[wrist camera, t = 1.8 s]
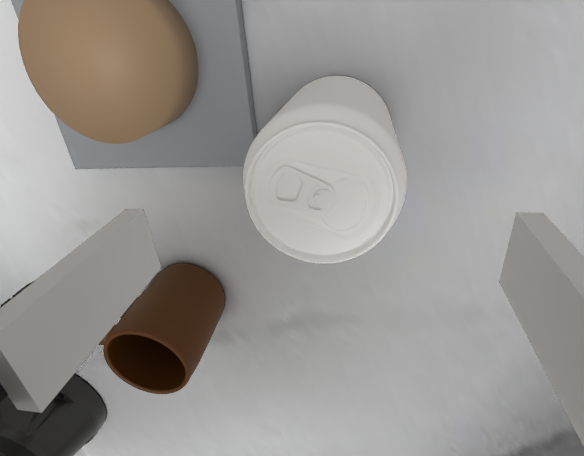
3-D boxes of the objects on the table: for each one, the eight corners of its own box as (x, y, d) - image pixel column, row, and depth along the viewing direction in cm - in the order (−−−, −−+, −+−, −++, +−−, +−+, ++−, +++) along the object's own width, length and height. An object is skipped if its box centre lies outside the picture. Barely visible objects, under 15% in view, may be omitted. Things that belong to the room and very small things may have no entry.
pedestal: (84, 164, 32) (35, 189, 27) (0, -65, 24) (-89, -87, 19) (260, 160, 29) (240, 187, 24) (228, -101, 21) (189, -137, 17)
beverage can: (365, 196, 29) (368, 292, 19) (270, 164, 29) (220, 241, 19) (410, 96, 25) (445, 147, 15) (299, 58, 25) (256, 82, 15)
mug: (116, 293, 39) (53, 363, 31) (116, 237, 35) (44, 300, 27) (221, 327, 39) (185, 406, 31) (233, 273, 35) (195, 348, 27)
